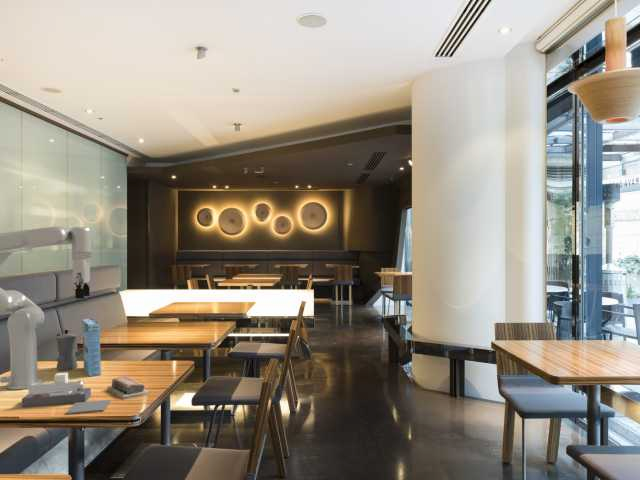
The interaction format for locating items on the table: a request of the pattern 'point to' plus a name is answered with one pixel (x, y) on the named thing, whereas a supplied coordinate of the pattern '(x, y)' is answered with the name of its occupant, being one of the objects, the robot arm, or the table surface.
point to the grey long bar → (55, 387)
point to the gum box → (91, 347)
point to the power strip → (56, 398)
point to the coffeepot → (66, 351)
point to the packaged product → (127, 388)
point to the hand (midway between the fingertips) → (82, 297)
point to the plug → (60, 379)
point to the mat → (88, 407)
